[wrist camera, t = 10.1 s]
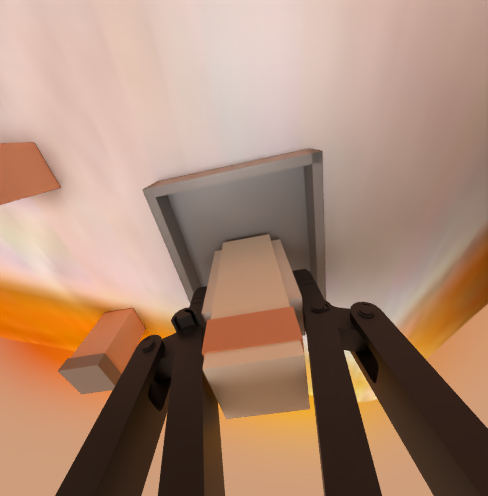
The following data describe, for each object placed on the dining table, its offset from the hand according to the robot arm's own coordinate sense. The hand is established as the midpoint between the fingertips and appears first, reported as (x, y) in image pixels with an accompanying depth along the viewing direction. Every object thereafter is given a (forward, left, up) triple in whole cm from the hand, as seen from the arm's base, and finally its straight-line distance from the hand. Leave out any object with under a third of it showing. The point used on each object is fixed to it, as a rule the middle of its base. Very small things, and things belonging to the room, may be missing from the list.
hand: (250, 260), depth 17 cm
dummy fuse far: (+14, +5, -2) cm, 15 cm away
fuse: (0, 0, 0) cm, 0 cm away
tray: (0, 0, -2) cm, 2 cm away
